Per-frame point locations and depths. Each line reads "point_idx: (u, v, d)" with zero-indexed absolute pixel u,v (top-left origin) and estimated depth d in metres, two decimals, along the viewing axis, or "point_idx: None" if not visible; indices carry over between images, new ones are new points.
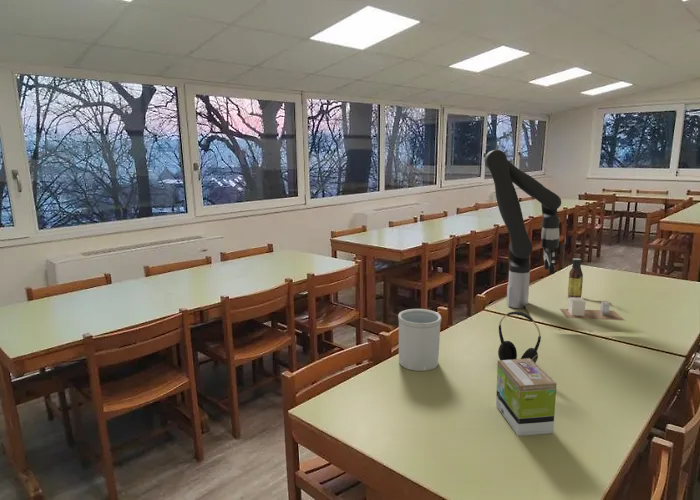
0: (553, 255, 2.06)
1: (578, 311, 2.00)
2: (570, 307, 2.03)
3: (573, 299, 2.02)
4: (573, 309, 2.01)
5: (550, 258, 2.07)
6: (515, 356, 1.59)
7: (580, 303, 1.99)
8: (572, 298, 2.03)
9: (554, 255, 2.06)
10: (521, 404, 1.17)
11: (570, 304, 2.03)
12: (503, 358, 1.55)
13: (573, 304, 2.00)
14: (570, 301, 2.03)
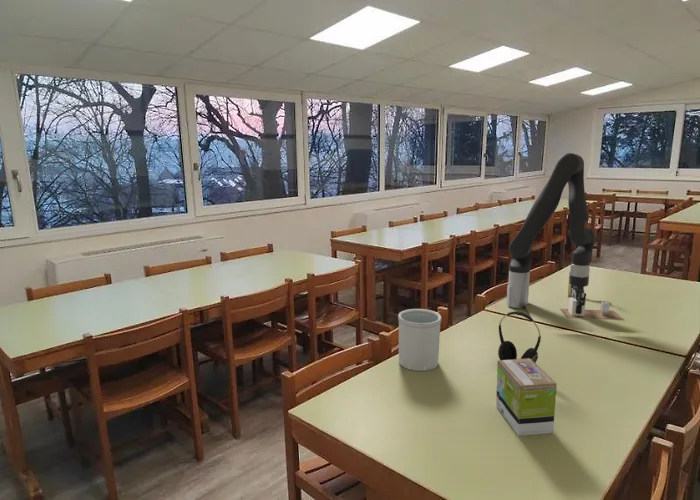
0: (582, 296, 1.95)
1: None
2: (570, 307, 2.03)
3: (573, 299, 2.02)
4: (573, 309, 2.01)
5: (579, 299, 1.96)
6: (515, 356, 1.59)
7: None
8: (572, 298, 2.03)
9: (583, 296, 1.95)
10: (521, 404, 1.17)
11: (570, 304, 2.03)
12: (503, 358, 1.55)
13: (574, 304, 2.00)
14: (570, 301, 2.03)
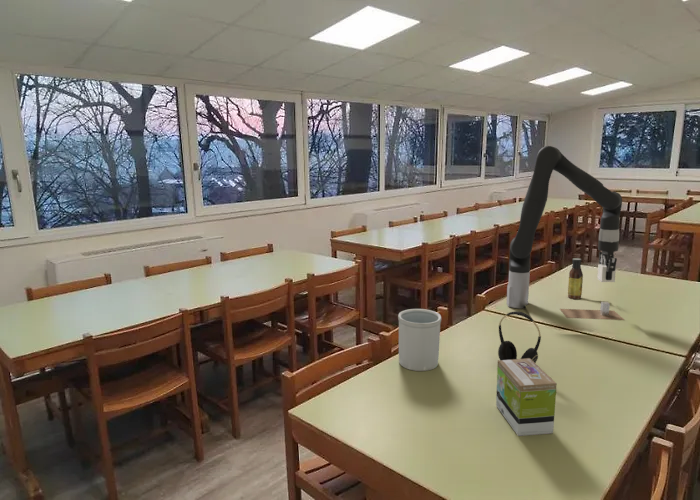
0: (613, 261, 1.90)
1: None
2: (599, 274, 1.98)
3: (602, 265, 1.97)
4: (603, 275, 1.95)
5: (609, 264, 1.91)
6: (515, 356, 1.59)
7: None
8: (601, 265, 1.98)
9: (614, 261, 1.90)
10: (521, 404, 1.17)
11: (599, 271, 1.98)
12: (503, 358, 1.55)
13: (603, 270, 1.95)
14: (599, 268, 1.98)
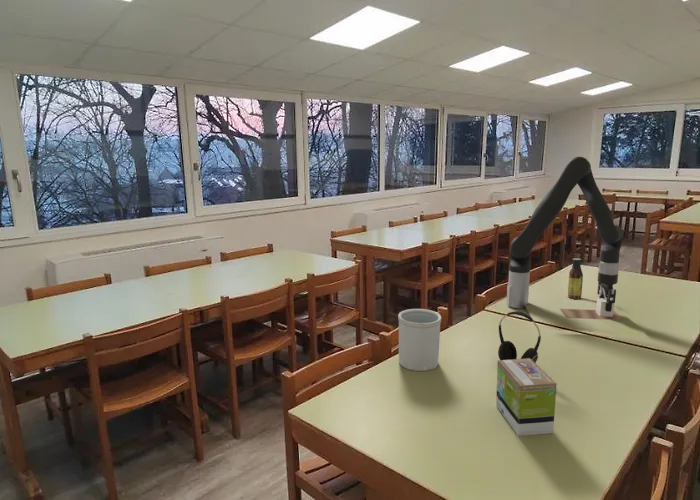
0: (612, 292, 1.92)
1: (606, 312, 1.99)
2: (598, 308, 2.01)
3: (601, 300, 2.00)
4: (601, 310, 1.99)
5: (609, 295, 1.93)
6: (515, 356, 1.59)
7: None
8: (600, 299, 2.01)
9: (613, 292, 1.92)
10: (521, 404, 1.17)
11: (598, 305, 2.01)
12: (503, 358, 1.55)
13: (602, 305, 1.98)
14: (598, 302, 2.01)
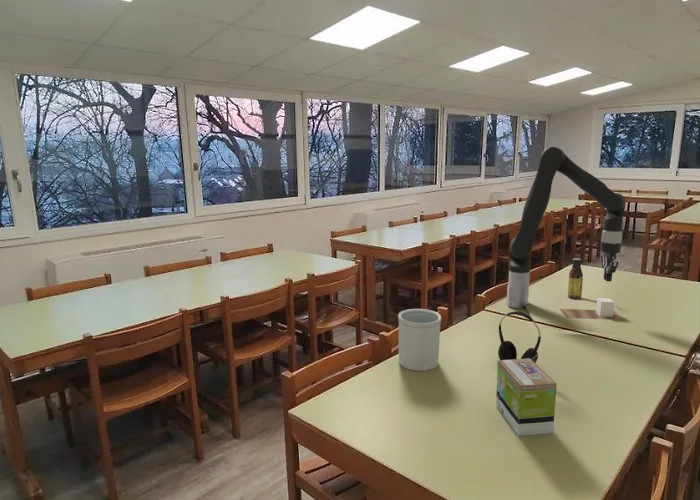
0: (614, 265, 1.91)
1: (606, 312, 1.99)
2: (598, 308, 2.01)
3: (601, 300, 2.00)
4: (601, 310, 1.99)
5: (610, 267, 1.92)
6: (515, 356, 1.59)
7: (609, 303, 1.98)
8: (600, 299, 2.01)
9: (615, 265, 1.91)
10: (521, 404, 1.17)
11: (598, 305, 2.01)
12: (503, 358, 1.55)
13: (602, 305, 1.98)
14: (598, 302, 2.01)
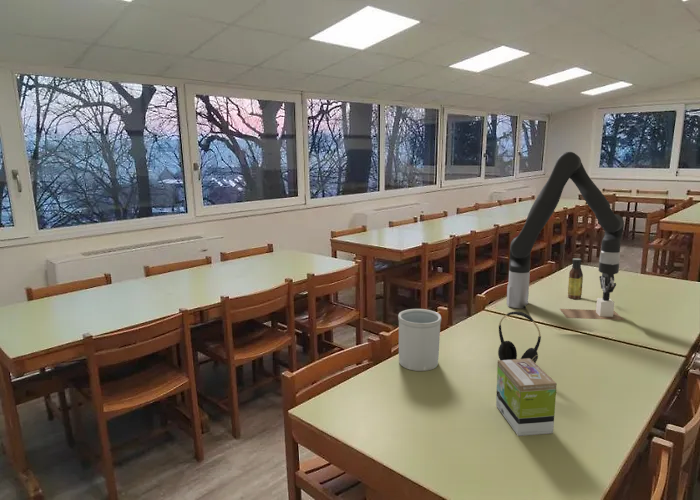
0: (612, 286, 1.93)
1: (606, 312, 1.99)
2: (598, 308, 2.01)
3: (601, 300, 2.00)
4: (601, 310, 1.99)
5: (608, 287, 1.94)
6: (515, 356, 1.59)
7: (609, 303, 1.98)
8: (600, 299, 2.01)
9: (613, 286, 1.93)
10: (521, 404, 1.17)
11: (598, 305, 2.01)
12: (503, 358, 1.55)
13: (602, 305, 1.98)
14: (598, 302, 2.01)
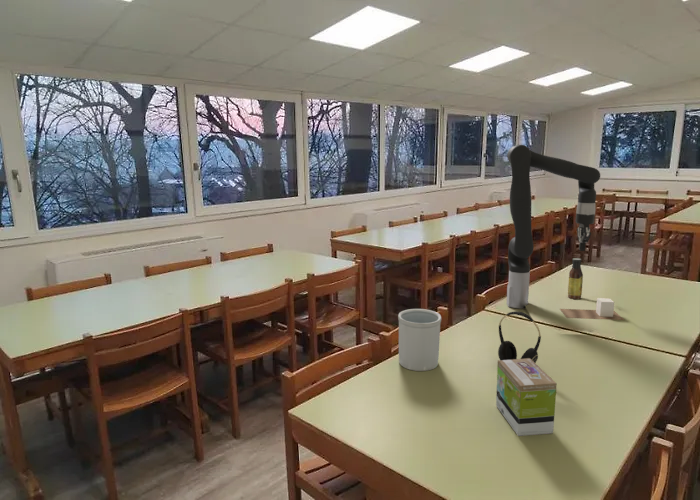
0: (587, 235, 2.02)
1: (606, 312, 1.99)
2: (598, 308, 2.01)
3: (601, 300, 2.00)
4: (601, 310, 1.99)
5: (583, 237, 2.04)
6: (515, 356, 1.59)
7: (609, 303, 1.98)
8: (600, 299, 2.01)
9: (588, 235, 2.02)
10: (521, 404, 1.17)
11: (598, 305, 2.01)
12: (503, 358, 1.55)
13: (602, 305, 1.98)
14: (598, 302, 2.01)
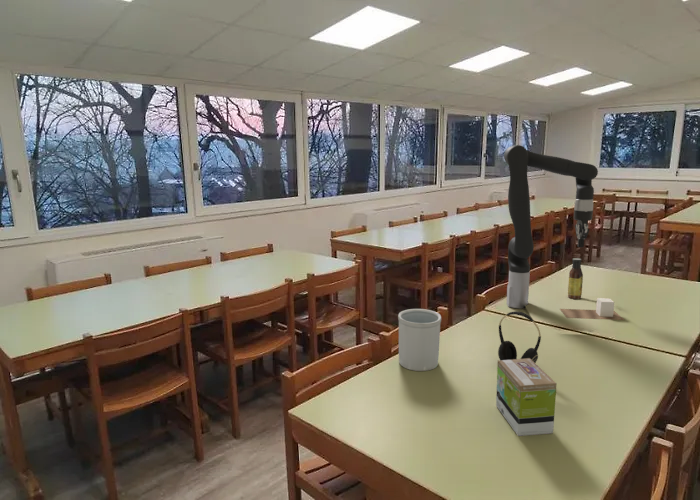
0: (585, 232, 2.03)
1: (606, 312, 1.99)
2: (598, 308, 2.01)
3: (601, 300, 2.00)
4: (601, 310, 1.99)
5: (581, 233, 2.04)
6: (515, 356, 1.59)
7: (609, 303, 1.98)
8: (600, 299, 2.01)
9: (586, 232, 2.03)
10: (521, 404, 1.17)
11: (598, 305, 2.01)
12: (503, 358, 1.55)
13: (602, 305, 1.98)
14: (598, 302, 2.01)
